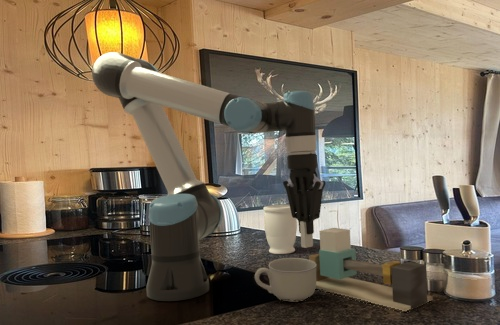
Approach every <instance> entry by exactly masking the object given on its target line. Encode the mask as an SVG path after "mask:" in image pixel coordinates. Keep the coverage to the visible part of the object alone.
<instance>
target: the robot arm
mask: <svg viewBox="0 0 500 325" xmlns="http://www.w3.org/2000/svg"><path fill="white" fill-rule="evenodd" d="M91 77H92V80H93V83H94V85H95V87H96V88H97V90H99V91H100V92H101V93H102V94H104V95H106V96H109V97H112V98H117V99H118V100H119V102H120V104H121V106H122V109H123V111H124V112H125V113H126V114H129V115H132V117H133V120H134V122H135V124H136V126H137V127H138V130H139V133H140V134H141V137H142V139H143V141H144V143H145V145H146V147H147V149H148V150H147V151H148V152H149V154H150V156H151V158H152V161H153V162H154V165H155V166H156V170H157V171H158V174H159V176H160V178H161V180H162V182H163V184H164V186H165V189H166V191H167V195H164V196H160V197H157V198H155V199H153V200H151V202H150V203H149V206H148V207H149V208H148V222H149V223H148V224H149V235H150V249H151V250H150V251H151V266H150V270H149V275H148V278H147V283H146V286H145V287H146V288H145V289H146V297H147V298H148V299H150V300H153V301H159V302H177V301H184V300H190V299H195V298H197V297H200V296H203V295H205V294H206V293H208V292H209V291H210V282H209V277H208V274H207V272H206V270H205V267H204V265H203V262H202V260H201V251H200V250H201V249H200V240H201V239H205V238H207V237H208V236H211V235H212V234H213V233H215V231H217V229H218V228H219V227H220V226H221V223H222V221H223V216H224V211H223V206H222V203H221V201H220V200H219V199H218V198H217V197H216V196H215V195H213V194H211V193H210V192H209V189H208V187H207V185H206V183H205V182H204V181H202V180H199V179H197V177H196V175H195V173H194V170H193V168H192V166H191V164H190V162H189V160H188V157H187V155H186V154H185V151H184V149H183V147H182V145H181V143H180V141H179V139H178V136H177V134H176V132H175V130H174V128H173V125H172V123H171V121H170V119H169V116H168V115H167V113H166V111H165V108H164V107H166V108H169V109H173V110H175V111H179V112H181V113H184V114H187V115H191V116H195V117H198V118H201V119H204V120H207V121H210V122H214V123H216V124H221V125H223V126H226V127H228V128H232V130H235V131H237V132H240V133H242V134H244V135H245V134H251V135H255V134H262V133H273V132H285V146H286V153H288V155H287V156H286V161H287V169H288V170H290V173H289V177H288V179H287V180H283V182H282V184H283V186H284V189H285V192H286V195H287V199H288V205H290V209H291V214H292V217H293V218H296V220H297V223H298V233H299V234H300V246H301V248H305V249H307V248H311V247H313V246H314V238H313V234H314V233H315V230H314V229H315V227H314V226H315V224H314V221H315V220H317V219H319V218H320V216H321V210H322V202H323V199H322V198H323V191H324V188H325V186H326V181H325V180H321V179H319V178H318V173H317V168H318V154H317V153H315V152H316V151H317V136H316V134H317V132H316V114H315V113H316V112H315V111H316V110H315V104H314V96H313V93H312V92H310V91H308V90H307V91H306V90H295V91H288V92H286V93H285V92H284V94H283V98H282V100H281V101H275V102H274V101H273V102H260V101H257V100H254V99H253V98H248V97H245V96H240V95H236V94H233V93H230V92H227V91H223V90H219V89H216V88H213V87H210V86H206V85H203V84H200V83H196V82H193V81H189V80H185V79H182V78H179V77H177V76H176V77H175V76H172V75H168V74H165V73H162V72H159V70H158V69H157V67H155V65H153V64H152V63H150V62H148V61H146V60H144V59H142V58H136V57H133V56H130V55H127V54H125V53H120V52H116V51H111V52H106V53H104V54H102V55H101V56H99V57H97V59H96V60H95V62H94V63H93V66H92V71H91Z"/></svg>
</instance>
